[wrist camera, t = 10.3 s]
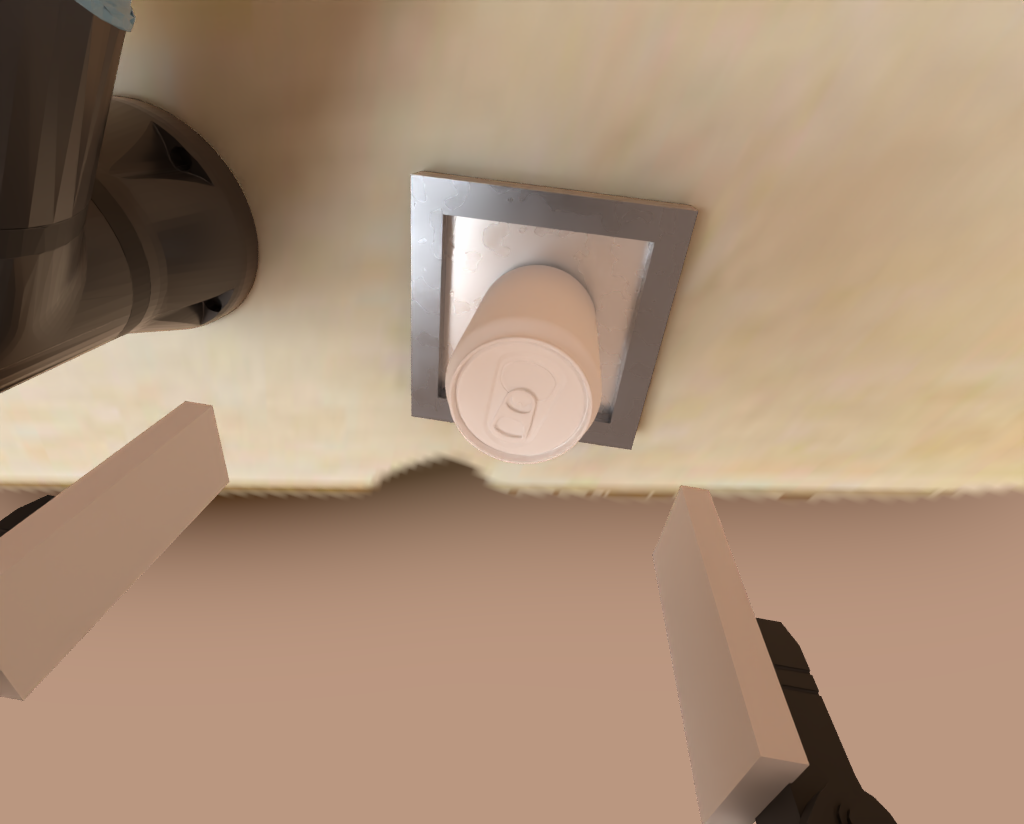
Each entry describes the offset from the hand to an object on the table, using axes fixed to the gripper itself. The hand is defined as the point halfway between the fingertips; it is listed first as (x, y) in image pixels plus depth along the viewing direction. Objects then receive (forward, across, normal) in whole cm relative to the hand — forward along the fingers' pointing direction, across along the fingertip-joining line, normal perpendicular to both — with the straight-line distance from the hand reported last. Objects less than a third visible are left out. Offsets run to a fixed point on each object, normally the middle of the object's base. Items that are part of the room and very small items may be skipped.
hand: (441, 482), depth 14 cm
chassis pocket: (+23, +2, -3) cm, 23 cm away
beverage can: (+22, +2, -3) cm, 22 cm away
